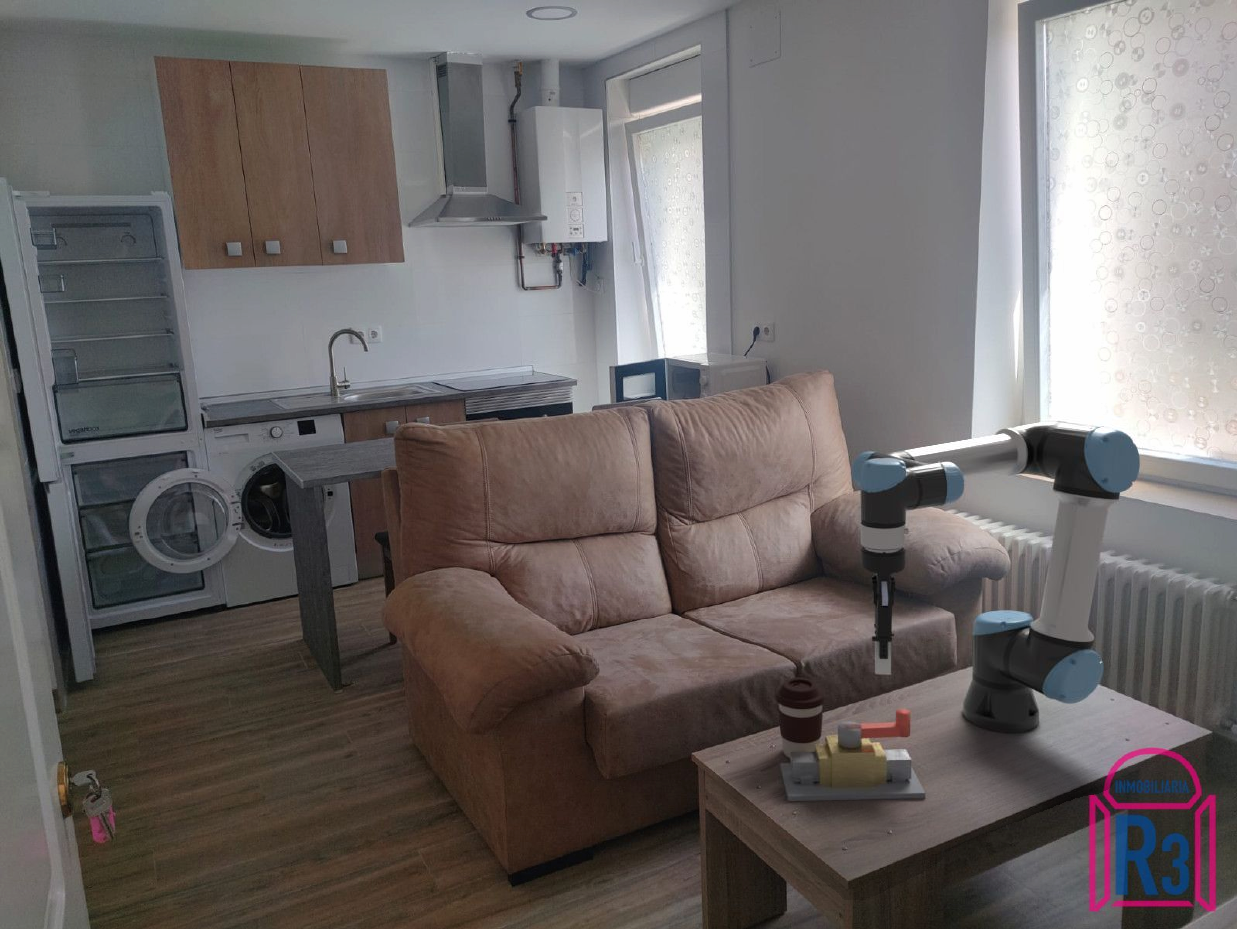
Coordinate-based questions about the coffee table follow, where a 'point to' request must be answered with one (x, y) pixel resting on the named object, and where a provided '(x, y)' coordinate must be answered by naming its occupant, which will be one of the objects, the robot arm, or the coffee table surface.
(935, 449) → the robot arm
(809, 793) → the mount board
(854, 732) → the lever
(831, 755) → the pipe valve
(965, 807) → the coffee table surface
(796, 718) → the coffee cup
